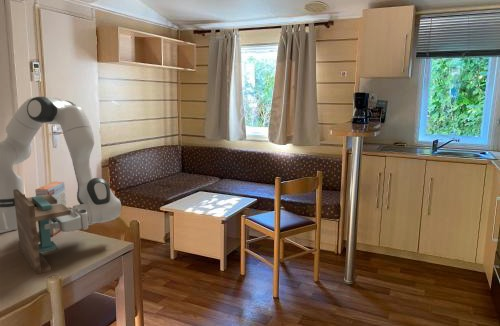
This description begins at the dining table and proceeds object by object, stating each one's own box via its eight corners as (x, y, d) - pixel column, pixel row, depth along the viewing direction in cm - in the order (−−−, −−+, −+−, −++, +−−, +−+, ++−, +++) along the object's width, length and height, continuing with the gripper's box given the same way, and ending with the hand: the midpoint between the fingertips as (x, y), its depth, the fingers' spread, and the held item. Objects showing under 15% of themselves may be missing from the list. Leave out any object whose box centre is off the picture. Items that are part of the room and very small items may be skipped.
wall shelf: (54, 241, 160) (48, 184, 156) (75, 263, 139) (69, 199, 135) (20, 248, 153) (13, 189, 148) (36, 274, 131) (29, 206, 127)
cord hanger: (49, 240, 154) (44, 195, 150) (60, 252, 141) (56, 204, 138) (32, 243, 150) (27, 197, 146) (42, 257, 138) (37, 207, 134)
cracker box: (56, 225, 180) (52, 181, 176) (69, 225, 179) (65, 181, 176) (39, 236, 166) (34, 188, 162) (53, 236, 166) (48, 189, 162)
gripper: (71, 202, 159) (33, 208, 150) (87, 214, 144) (47, 222, 135) (72, 216, 160) (35, 224, 152) (89, 230, 145) (48, 239, 136)
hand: (40, 223), depth 143 cm, fingers open, 8 cm apart
